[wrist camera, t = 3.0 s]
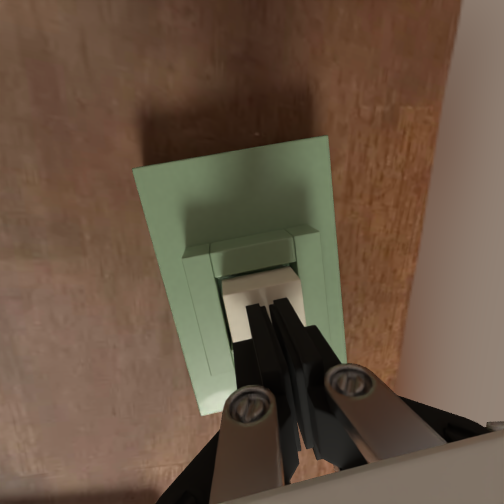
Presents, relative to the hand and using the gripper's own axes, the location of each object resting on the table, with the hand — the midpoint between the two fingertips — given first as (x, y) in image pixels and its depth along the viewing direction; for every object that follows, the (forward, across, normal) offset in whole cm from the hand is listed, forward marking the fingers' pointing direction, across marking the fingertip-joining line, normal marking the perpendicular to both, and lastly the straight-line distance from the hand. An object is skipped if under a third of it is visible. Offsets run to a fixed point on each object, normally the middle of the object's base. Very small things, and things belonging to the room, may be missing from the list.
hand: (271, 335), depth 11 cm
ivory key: (+2, 0, 0) cm, 2 cm away
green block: (+6, 0, 0) cm, 6 cm away
